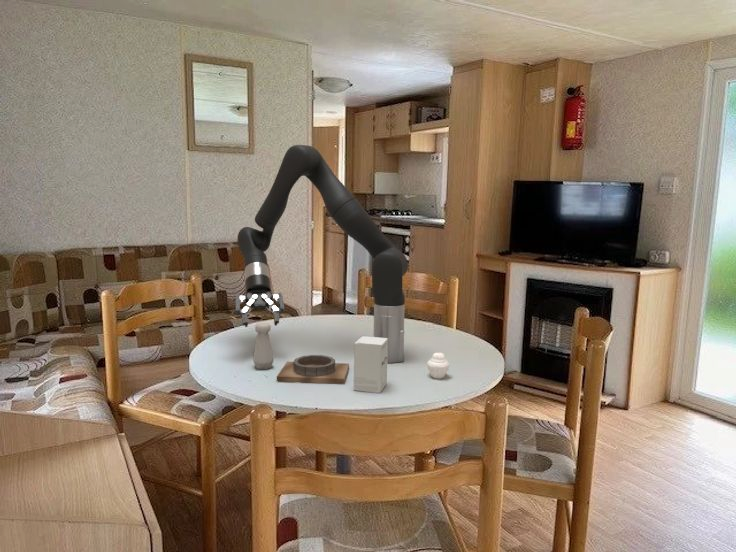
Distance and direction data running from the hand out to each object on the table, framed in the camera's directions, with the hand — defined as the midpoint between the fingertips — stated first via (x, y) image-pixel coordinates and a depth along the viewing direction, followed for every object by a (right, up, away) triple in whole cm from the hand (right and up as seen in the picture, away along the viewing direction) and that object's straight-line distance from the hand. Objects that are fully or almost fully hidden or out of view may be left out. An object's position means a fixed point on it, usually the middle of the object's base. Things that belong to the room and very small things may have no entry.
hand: (261, 324), depth 156 cm
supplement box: (+32, -15, -18) cm, 39 cm away
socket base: (+16, -13, -9) cm, 23 cm away
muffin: (+50, -14, -9) cm, 53 cm away
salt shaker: (+1, -12, -3) cm, 13 cm away
